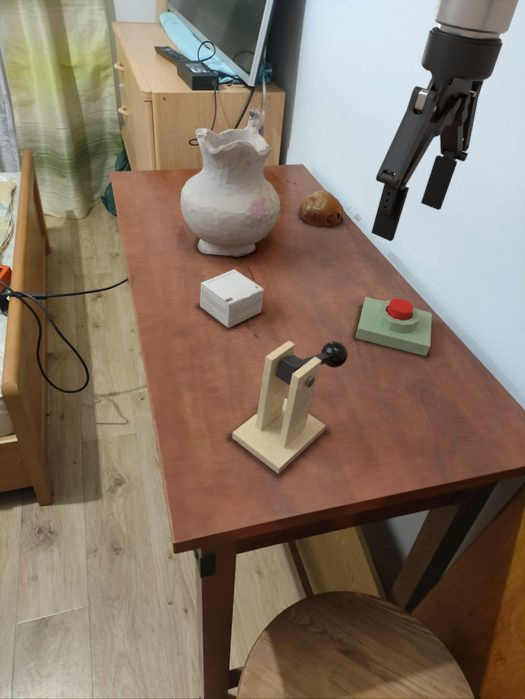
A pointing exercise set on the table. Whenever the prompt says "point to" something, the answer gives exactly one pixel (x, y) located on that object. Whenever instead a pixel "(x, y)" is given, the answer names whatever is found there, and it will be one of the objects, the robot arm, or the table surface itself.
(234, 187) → the ceramic pitcher
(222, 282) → the small box
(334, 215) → the bread roll
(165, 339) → the table surface
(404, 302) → the button
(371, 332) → the button block
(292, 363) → the lever
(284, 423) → the cream lever bracket
